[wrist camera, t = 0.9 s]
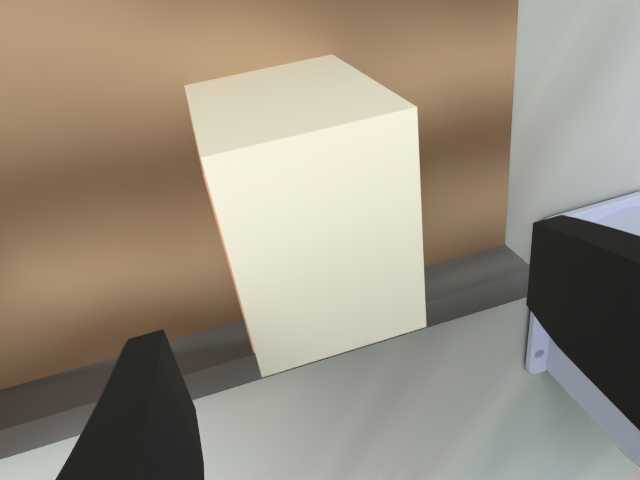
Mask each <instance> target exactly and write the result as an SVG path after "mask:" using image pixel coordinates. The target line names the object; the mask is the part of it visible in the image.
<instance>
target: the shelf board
mask: <svg viewBox="0 0 640 480" xmlns="http://www.w3.org/2000/svg"><path fill="white" fill-rule="evenodd" d="M517 17H518V0H0V459H3V458H6V457H10V456H13V455H16V454H19V453H23V452H26V451H29V450H32V449H36V448H39V447H42V446H45V445H49V444H52V443H55V442H58V441H62V440H65V439H68V438H71V437H74V436H78V435H81V433H82V431H83V429H84V427H85V425H86V423H87V421H88V419H89V417H90V416H91V414H92V412H93V410H94V408H95V406H96V404H97V402H98V400H99V398H100V396H101V393H102V391H103V389H104V387H105V385H106V383H107V381H108V379H109V377H110V375H111V372H112V370H113V368H114V366H115V364H116V362H117V359H118V357H119V355H120V353H121V351H122V348H123V346H124V345H125V343H126V342H127V340H128V339H130V338H134V337H137V336H141V335H144V334H148V333H151V332H155V331H158V330H162V329H164V332H165V334H166V337H167V339H168V342H169V344H170V347H171V349H172V352H173V354H174V357H175V359H176V362H177V364H178V367H179V369H180V372H181V374H182V377H183V379H184V382H185V384H186V387H187V389H188V392H189V394H190V397H191V399H192V400H194V399H198V398H201V397H204V396H207V395H210V394H214V393H217V392H220V391H223V390H227V389H230V388H233V387H236V386H240V385H243V384H246V383H249V382H253V381H256V380H259V379H262V378H266V377H269V376H272V375H275V374H278V373H282V372H285V371H288V370H291V369H295V368H298V367H301V366H304V365H308V364H311V363H314V362H317V361H321V360H324V359H327V358H330V357H334V356H337V355H340V354H343V353H347V352H350V351H353V350H356V349H359V348H363V347H366V346H369V345H372V344H376V343H379V342H382V341H385V340H389V339H392V338H395V337H398V336H402V335H405V334H408V333H411V332H415V331H418V330H421V329H424V328H427V327H431V326H434V325H437V324H440V323H444V322H447V321H450V320H453V319H457V318H460V317H463V316H466V315H470V314H473V313H476V312H479V311H483V310H486V309H489V308H492V307H495V306H499V305H502V304H505V303H508V302H512V301H515V300H518V299H521V298H525V297H527V292H528V281H529V269H530V266H529V265H528V264H527V263H526V262H525V261H523V260H522V259H521V258H520V257H519V256H518V255H516V254H515V253H514V252H513V251H512V250H511V249H509V248H508V247H507V246H506V245H505V230H506V212H507V194H508V177H509V159H510V141H511V123H512V106H513V88H514V70H515V53H516V35H517ZM331 54H333V55H335V56H336V57H338V58H339V59H341V60H343V61H344V62H346V63H347V64H349V65H351V66H352V67H354V68H355V69H357V70H359V71H360V72H362V73H363V74H365V75H367V76H368V77H370V78H371V79H373V80H375V81H376V82H378V83H380V84H381V85H383V86H384V87H386V88H388V89H389V90H391V91H392V92H394V93H396V94H397V95H399V96H400V97H402V98H404V99H405V100H407V101H408V102H410V103H412V104H413V105H415V106H416V107H417V114H418V138H419V162H420V186H421V210H422V234H423V257H424V281H425V305H426V327H424V328H421V329H418V330H414V331H411V332H408V333H405V334H401V335H398V336H395V337H392V338H388V339H385V340H382V341H379V342H376V343H372V344H369V345H366V346H363V347H359V348H356V349H353V350H350V351H346V352H343V353H340V354H337V355H333V356H330V357H327V358H324V359H320V360H317V361H314V362H311V363H307V364H304V365H301V366H298V367H294V368H291V369H288V370H285V371H281V372H278V373H275V374H272V375H269V376H265V377H262V376H261V372H260V368H259V365H258V361H257V358H256V354H255V353H253V350H252V346H251V343H250V339H249V336H248V332H247V329H246V325H245V322H244V318H243V315H242V311H241V308H240V304H239V300H238V297H237V293H236V290H235V286H234V283H233V279H232V276H231V272H230V269H229V265H228V262H227V258H226V254H225V251H224V247H223V244H222V240H221V237H220V233H219V230H218V226H217V223H216V219H215V216H214V212H213V209H212V205H211V201H210V198H209V194H208V191H207V187H206V184H205V180H204V177H203V173H202V168H201V164H200V159H199V155H198V150H197V146H196V141H195V136H194V132H193V127H192V123H191V118H190V114H189V112H190V109H189V105H188V101H187V96H186V92H185V87H184V85H189V84H194V83H199V82H203V81H208V80H213V79H218V78H222V77H227V76H232V75H237V74H241V73H246V72H251V71H256V70H260V69H265V68H270V67H274V66H279V65H284V64H289V63H293V62H298V61H303V60H308V59H312V58H317V57H322V56H327V55H331Z"/></svg>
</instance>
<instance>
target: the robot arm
mask: <svg viewBox="0 0 640 480" xmlns="http://www.w3.org/2000/svg"><path fill="white" fill-rule="evenodd" d="M526 305H527V306H528V307H529V309H530V310H531V313H530V324H529V334H528V345H527V355H526V369H527V370H528V371H529V372H530V373H531V374H538V373H541V372H544V371H548V372H549V373H550V374H551V375H552V377H553V378H554V379H555V380H556V381H557V382H558V383H559V384H560V385H561V386H562V387H563V388H564V390H565V391H566V392H567V393H568V394H569V395H570V396H571V397H572V398H573V399H574V400H575V401H576V403H577V404H578V405H579V406H580V407H581V408H582V409H583V410H584V411H585V412H586V413H587V415H588V416H589V417H590V418H591V419H592V420H593V421H594V422H595V423H596V424H597V425H598V426H599V428H600V429H601V430H602V431H603V432H604V433H605V434H606V435H607V436H608V437H609V438H610V439H611V441H612V442H613V443H614V444H615V445H616V446H617V447H618V448H619V449H620V450H621V451H622V452H623V453H624V454H625V455H626V456H627V457H628V458H629V459H630V460H631V461H633V462H634V463H635V464H637V465H638V466H639V467H640V191H639V192H635V193H632V194H628V195H625V196H621V197H618V198H614V199H611V200H607V201H604V202H600V203H597V204H593V205H590V206H586V207H582V208H579V209H575V210H572V211H568V212H565V213H561V214H558V215H554V216H551V217H548V218H546V219H545V220H541V221H538V222H534V223H533V233H532V245H531V257H530V269H529V281H528V292H527V304H526ZM56 480H204V463H203V455H202V448H201V442H200V435H199V429H198V422H197V416H196V410H195V407H194V404H193V402H192V399H191V397H190V394H189V392H188V389H187V387H186V384H185V382H184V379H183V377H182V374H181V372H180V369H179V367H178V364H177V362H176V359H175V357H174V354H173V352H172V349H171V347H170V344H169V342H168V339H167V337H166V334H165V332H164V329H162V330H158V331H155V332H151V333H148V334H144V335H141V336H137V337H134V338H130V339H128V340H127V342H126V343H125V345H124V346H123V348H122V351H121V353H120V355H119V357H118V359H117V362H116V364H115V366H114V368H113V370H112V372H111V375H110V377H109V379H108V381H107V383H106V385H105V387H104V389H103V391H102V393H101V396H100V398H99V400H98V402H97V404H96V406H95V408H94V410H93V412H92V414H91V416H90V417H89V419H88V421H87V423H86V425H85V427H84V429H83V431H82V433H81V435H80V437H79V439H78V441H77V443H76V444H75V446H74V448H73V450H72V452H71V454H70V456H69V457H68V459H67V461H66V463H65V464H64V466H63V468H62V469H61V471H60V473H59V475H58V476H57V478H56Z"/></svg>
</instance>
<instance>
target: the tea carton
mask: <svg viewBox="0 0 640 480" xmlns="http://www.w3.org/2000/svg"><path fill="white" fill-rule="evenodd" d="M184 87H185V92H186V96H187V101H188V105H189V109H190V112H189V114H190V118H191V123H192V127H193V132H194V136H195V141H196V146H197V150H198V155H199V159H200V164H201V168H202V173H203V177H204V180H205V184H206V187H207V191H208V194H209V198H210V201H211V205H212V209H213V212H214V216H215V219H216V223H217V226H218V230H219V233H220V237H221V240H222V244H223V247H224V251H225V254H226V258H227V262H228V265H229V269H230V272H231V276H232V279H233V283H234V286H235V290H236V293H237V297H238V300H239V304H240V308H241V311H242V315H243V318H244V322H245V325H246V329H247V332H248V336H249V339H250V343H251V346H252V350H253V353H255V354H256V358H257V361H258V365H259V368H260V372H261V376H262V377H265V376H269V375H272V374H275V373H278V372H281V371H285V370H288V369H291V368H294V367H298V366H301V365H304V364H307V363H311V362H314V361H317V360H320V359H324V358H327V357H330V356H333V355H337V354H340V353H343V352H346V351H350V350H353V349H356V348H359V347H363V346H366V345H369V344H372V343H376V342H379V341H382V340H385V339H388V338H392V337H395V336H398V335H401V334H405V333H408V332H411V331H414V330H418V329H421V328H424V327H426V305H425V281H424V257H423V234H422V210H421V186H420V162H419V138H418V114H417V107H416V106H415V105H413V104H412V103H410V102H408V101H407V100H405V99H404V98H402V97H400V96H399V95H397V94H396V93H394V92H392V91H391V90H389V89H388V88H386V87H384V86H383V85H381V84H380V83H378V82H376V81H375V80H373V79H371V78H370V77H368V76H367V75H365V74H363V73H362V72H360V71H359V70H357V69H355V68H354V67H352V66H351V65H349V64H347V63H346V62H344V61H343V60H341V59H339V58H338V57H336V56H335V55H333V54H331V55H327V56H322V57H317V58H312V59H308V60H303V61H298V62H293V63H289V64H284V65H279V66H274V67H270V68H265V69H260V70H256V71H251V72H246V73H241V74H237V75H232V76H227V77H222V78H218V79H213V80H208V81H203V82H199V83H194V84H189V85H184Z"/></svg>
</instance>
